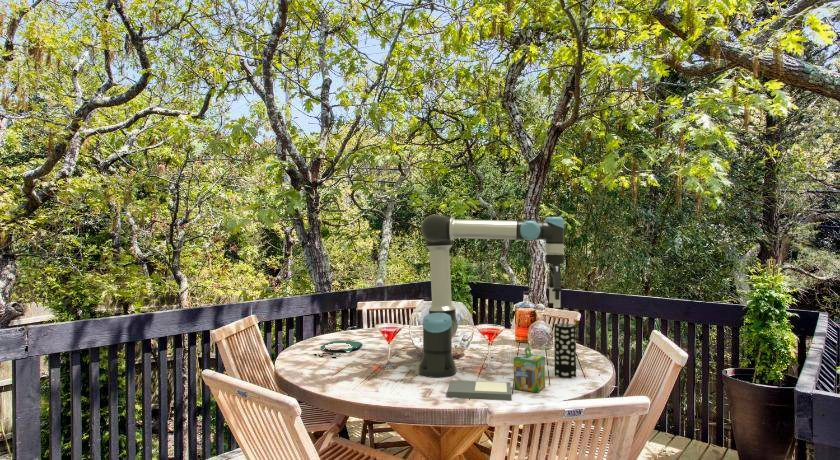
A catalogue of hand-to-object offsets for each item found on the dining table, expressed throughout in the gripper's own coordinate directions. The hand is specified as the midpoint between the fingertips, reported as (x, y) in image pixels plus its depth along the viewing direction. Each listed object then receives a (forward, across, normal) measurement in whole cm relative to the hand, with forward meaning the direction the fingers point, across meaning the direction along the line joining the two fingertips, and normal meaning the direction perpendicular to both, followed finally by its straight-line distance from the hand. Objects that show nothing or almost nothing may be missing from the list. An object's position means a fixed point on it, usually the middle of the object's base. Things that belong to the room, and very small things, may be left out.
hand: (554, 305), depth 212 cm
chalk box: (+27, -26, +12) cm, 40 cm away
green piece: (+28, +24, +100) cm, 107 cm away
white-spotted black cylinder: (+27, -8, -3) cm, 28 cm away
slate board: (+27, -34, +30) cm, 53 cm away
